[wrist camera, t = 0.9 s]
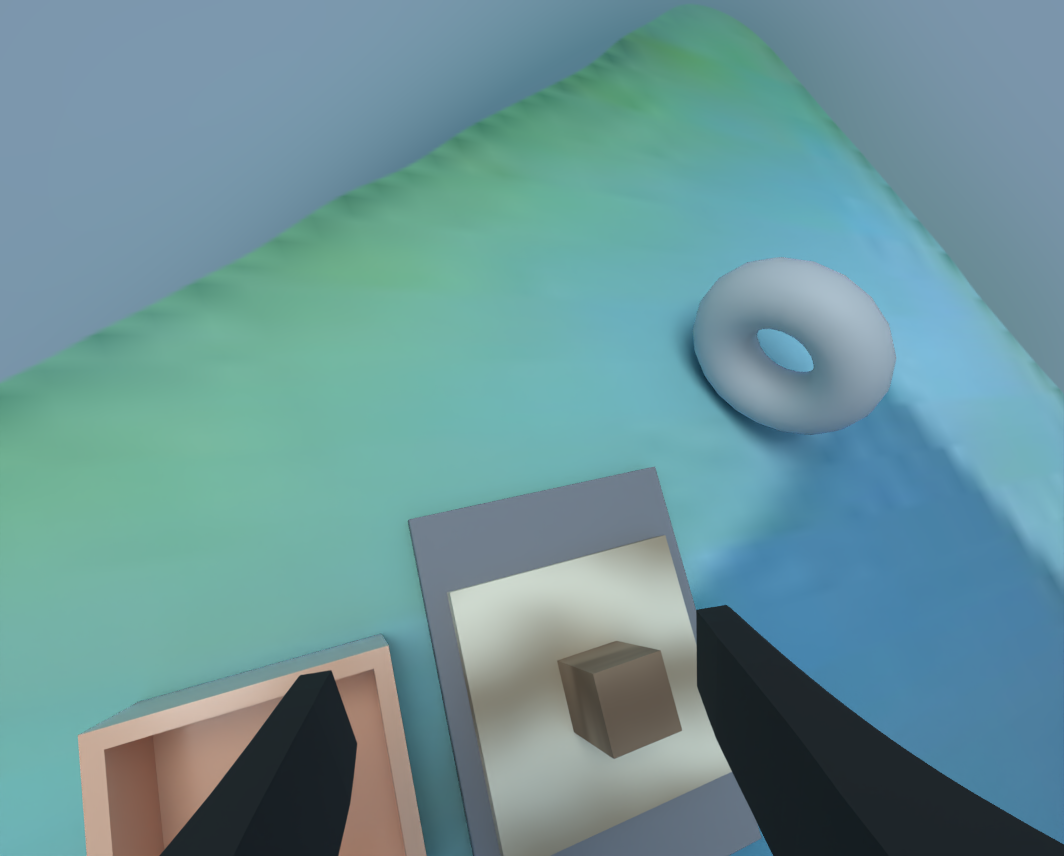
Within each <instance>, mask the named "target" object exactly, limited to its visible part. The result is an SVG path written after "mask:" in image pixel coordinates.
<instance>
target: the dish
mask: <svg viewBox="0 0 1064 856" xmlns="http://www.w3.org/2000/svg"><path fill="white" fill-rule="evenodd" d="M328 670H332V673H333V676H334V679H335V682H336V684H337V687H338V690H339V693H340V696H341V699H342V701H343V704H344V707H345V710H346V713H347V716H348V718H349V721H350V724H351V727H352V730H353V733H354V735H355V738H356V741H357V752H356V762H355V771H354V780H353V787H352V795H351V802H350V807H349V812H348V816H347V821H346V825H345V829H344V834H343V838H342V843H341V847H340V851H339V856H426V850H425V845H424V839H423V833H422V828H421V822H420V817H419V811H418V806H417V800H416V795H415V789H414V784H413V778H412V773H411V767H410V762H409V756H408V750H407V745H406V739H405V734H404V728H403V723H402V717H401V712H400V706H399V701H398V695H397V690H396V684H395V679H394V673H393V668H392V662H391V656H390V651H389V645H388V644H387V642H386V640H385V639H384V637H383V635H382V634H379V635H375V636H372V637H368V638H364V639H361V640H357V641H354V642H350V643H347V644H343V645H340V646H336V647H332V648H329V649H325V650H322V651H318V652H315V653H311V654H308V655H304V656H300V657H297V658H293V659H290V660H286V661H283V662H279V663H275V664H272V665H268V666H265V667H261V668H258V669H254V670H251V671H247V672H243V673H240V674H236V675H233V676H229V677H226V678H222V679H219V680H215V681H211V682H208V683H204V684H201V685H197V686H194V687H190V688H186V689H183V690H179V691H176V692H172V693H169V694H165V695H162V696H158V697H154V698H151V699H147V700H144V701H140V702H137V703H135V704H134V705H132V706H130V707H128V708H126V709H125V710H123V711H121V712H119V713H117V714H116V715H114V716H112V717H110V718H108V719H106V720H105V721H103V722H101V723H99V724H97V725H96V726H94V727H92V728H90V729H88V730H87V731H85V732H83V733H81V734H79V735H78V744H79V757H80V770H81V784H82V797H83V810H84V823H85V837H86V850H87V856H159V855H160V854H161V853H162V852H163V851H164V850H165V848H166V847H167V846H168V845H169V844H170V842H171V841H172V840H173V839H174V838H175V836H176V835H177V834H178V833H179V832H180V830H181V829H182V828H183V827H184V825H185V824H186V823H187V822H188V821H189V819H190V818H191V817H192V816H193V814H194V813H195V812H196V811H197V810H198V808H199V807H200V806H201V805H202V804H203V802H204V801H205V800H206V799H207V797H208V796H209V795H210V794H211V792H212V791H213V790H214V789H215V787H216V786H217V785H218V783H219V782H220V781H221V780H222V778H223V777H224V776H225V774H226V773H227V772H228V770H229V769H230V768H231V766H232V765H233V764H234V763H235V761H236V760H237V759H238V757H239V756H240V755H241V753H242V752H243V751H244V749H245V748H246V747H247V746H248V744H249V743H250V741H251V740H252V739H253V737H254V736H255V735H256V733H257V732H258V731H259V729H260V728H261V727H262V725H263V724H264V723H265V721H266V720H267V718H268V717H269V716H270V714H271V713H272V712H273V710H274V709H275V708H276V706H277V705H278V703H279V702H280V701H281V699H282V698H283V697H284V695H285V694H286V693H287V691H288V690H289V689H290V687H291V686H292V685H293V683H294V682H295V681H296V679H297V678H298V677H299V676H300V675H304V674H310V673H316V672H322V671H328Z"/></svg>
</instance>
